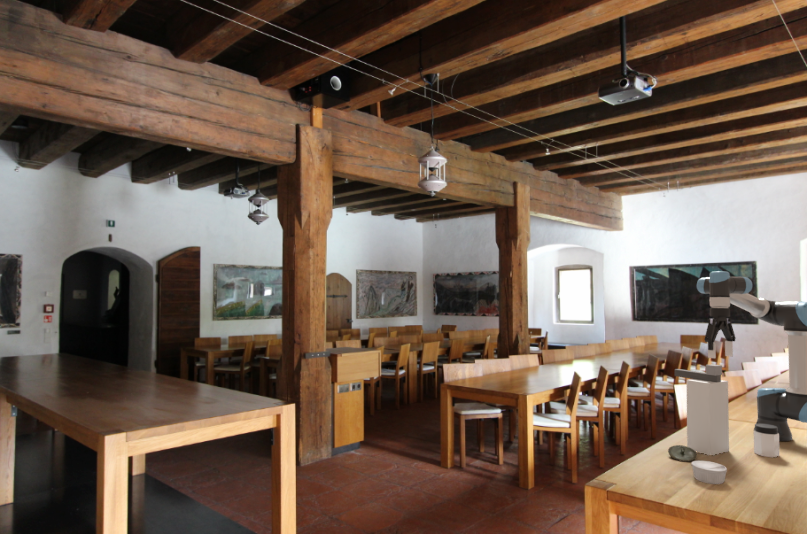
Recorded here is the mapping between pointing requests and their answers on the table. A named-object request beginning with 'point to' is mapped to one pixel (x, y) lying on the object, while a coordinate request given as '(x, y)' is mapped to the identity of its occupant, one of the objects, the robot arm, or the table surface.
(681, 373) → the handle bar
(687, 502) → the table surface
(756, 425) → the jar
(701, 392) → the stand
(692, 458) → the lid
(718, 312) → the robot arm
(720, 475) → the ramekin
